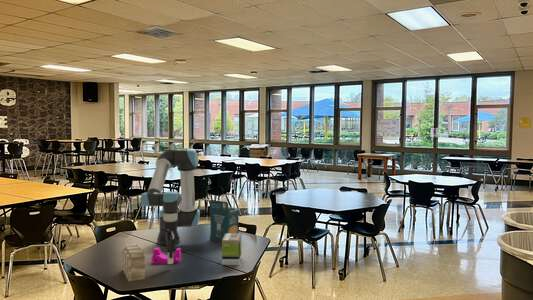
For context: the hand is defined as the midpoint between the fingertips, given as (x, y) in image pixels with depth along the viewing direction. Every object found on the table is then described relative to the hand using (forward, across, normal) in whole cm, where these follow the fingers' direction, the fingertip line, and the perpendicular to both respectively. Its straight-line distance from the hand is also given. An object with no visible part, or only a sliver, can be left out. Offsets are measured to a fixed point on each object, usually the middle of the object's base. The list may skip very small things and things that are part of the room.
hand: (170, 263), depth 219 cm
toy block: (+3, -13, +1) cm, 13 cm away
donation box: (+3, -43, +50) cm, 66 cm away
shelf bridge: (+3, 0, -18) cm, 18 cm away
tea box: (+3, +3, +35) cm, 35 cm away
